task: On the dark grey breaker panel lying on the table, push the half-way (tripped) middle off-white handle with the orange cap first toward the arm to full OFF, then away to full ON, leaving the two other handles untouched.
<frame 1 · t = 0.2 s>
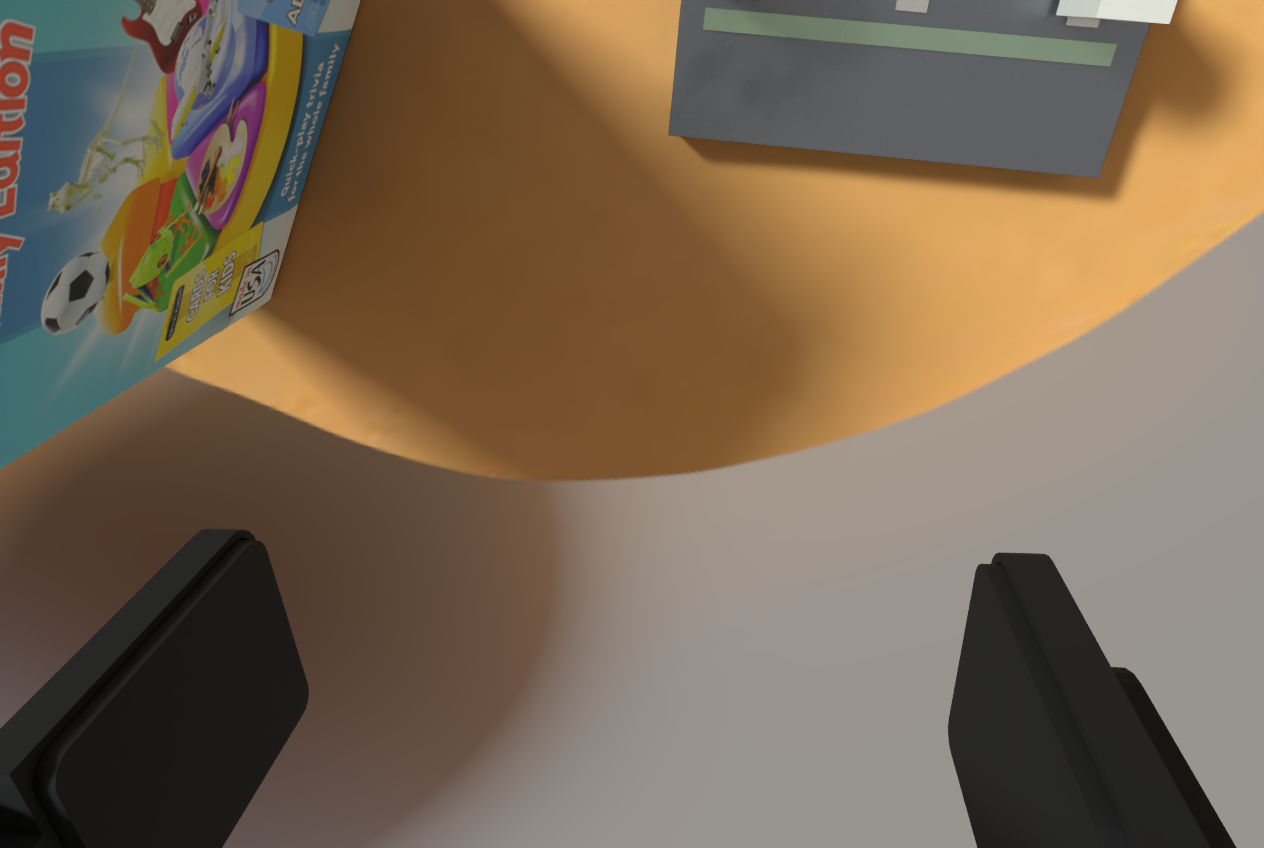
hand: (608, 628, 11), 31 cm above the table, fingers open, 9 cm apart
game box: (270, 87, 39), on the table
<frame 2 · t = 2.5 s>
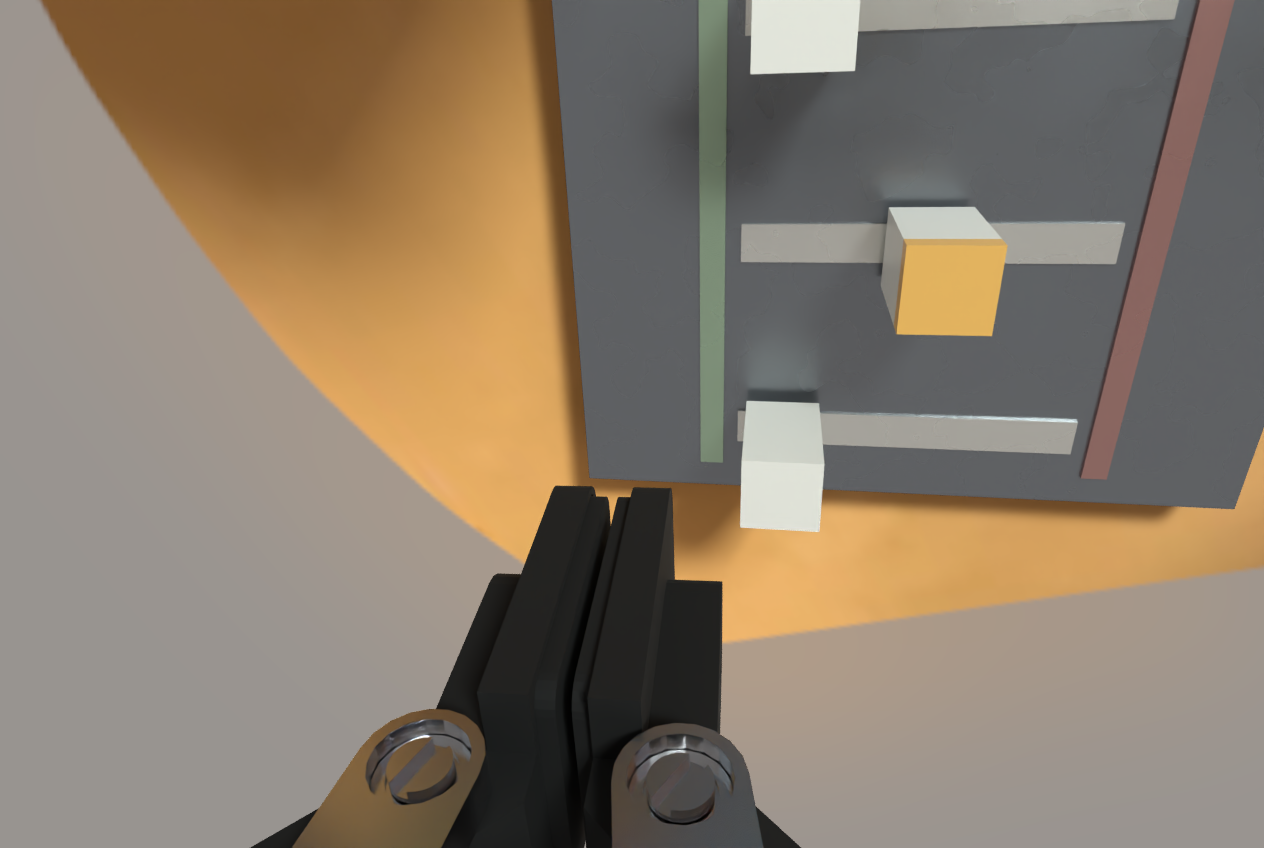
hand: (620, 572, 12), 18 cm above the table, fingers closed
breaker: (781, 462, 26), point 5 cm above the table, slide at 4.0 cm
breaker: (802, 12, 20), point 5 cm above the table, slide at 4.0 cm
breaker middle: (937, 267, 23), point 5 cm above the table, slide at 0.0 cm
panel: (914, 225, 27), on the table
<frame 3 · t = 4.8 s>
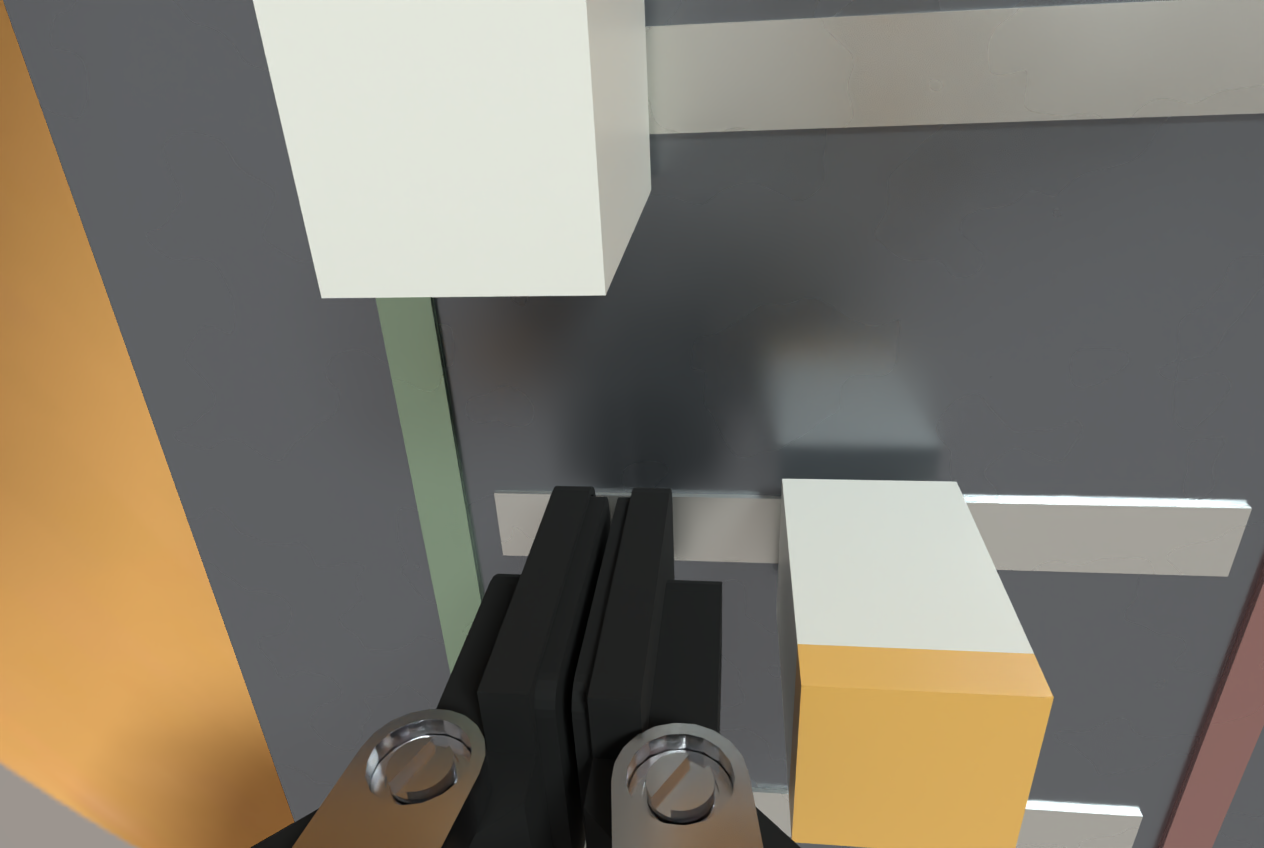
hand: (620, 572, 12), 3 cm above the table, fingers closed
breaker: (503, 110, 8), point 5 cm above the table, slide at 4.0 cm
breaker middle: (882, 643, 10), point 4 cm above the table, slide at -0.1 cm, touching gripper
panel: (834, 464, 14), on the table
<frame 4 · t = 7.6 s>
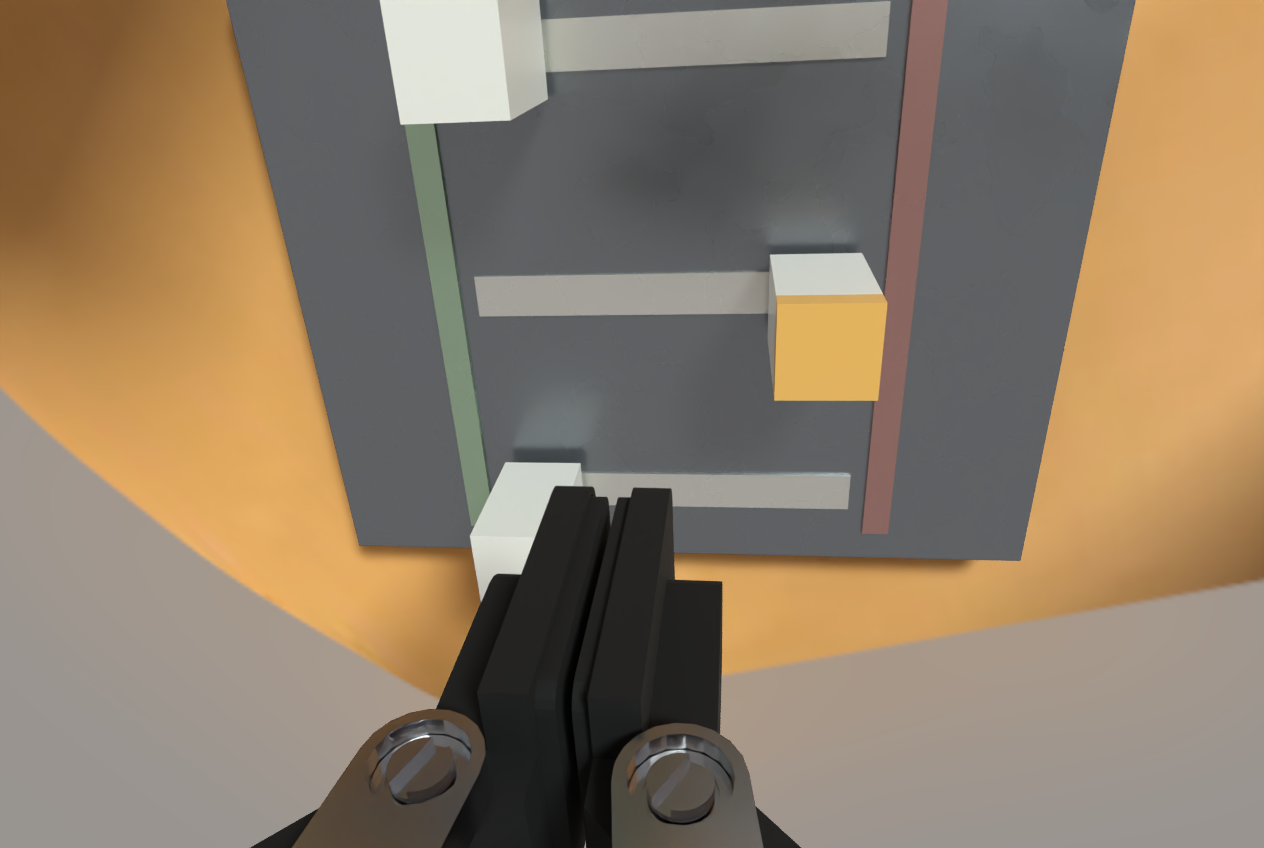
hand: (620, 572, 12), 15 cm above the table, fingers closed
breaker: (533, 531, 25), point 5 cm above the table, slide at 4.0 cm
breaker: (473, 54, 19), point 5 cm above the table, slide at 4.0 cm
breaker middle: (820, 322, 21), point 5 cm above the table, slide at -4.0 cm
panel: (670, 272, 25), on the table
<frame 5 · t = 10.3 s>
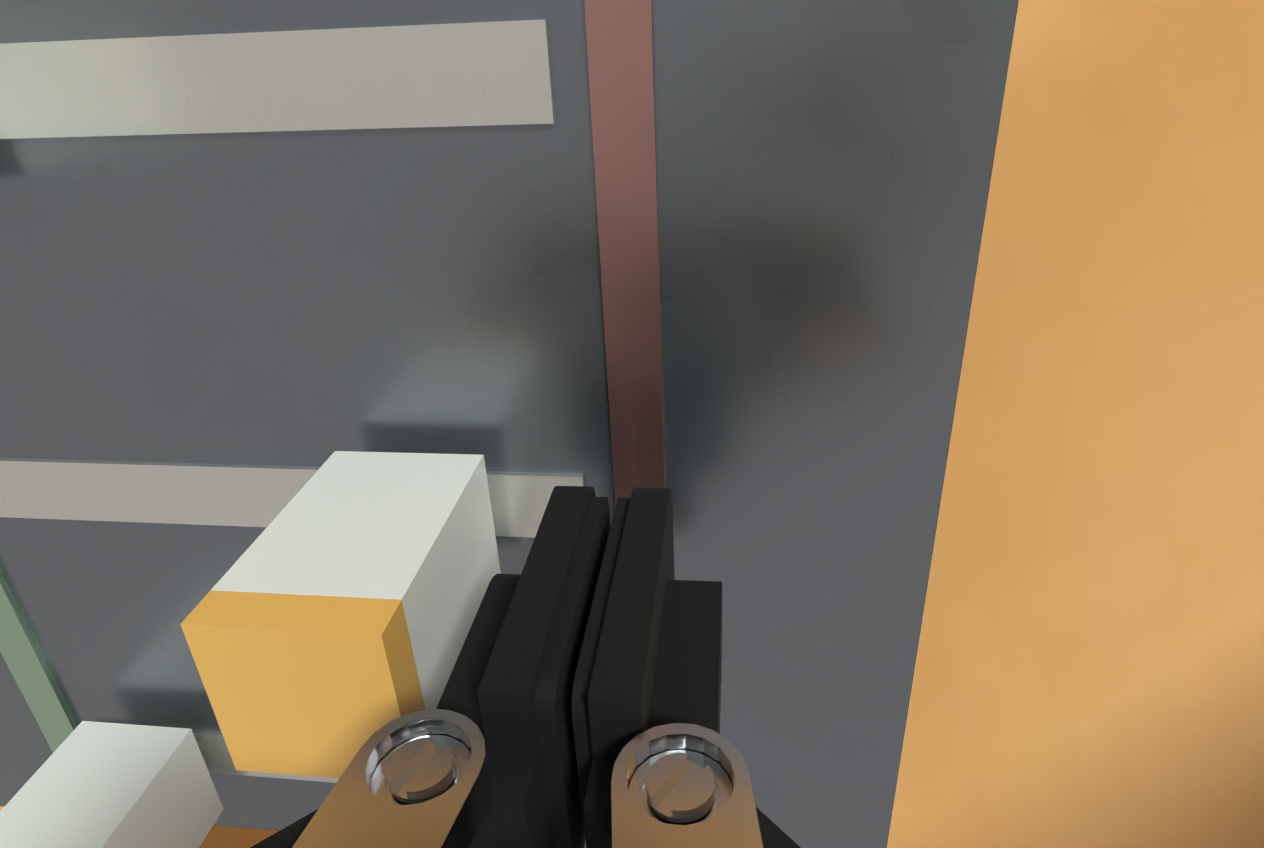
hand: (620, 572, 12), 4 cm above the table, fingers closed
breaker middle: (371, 598, 11), point 4 cm above the table, slide at -2.9 cm, touching gripper
panel: (322, 439, 16), on the table
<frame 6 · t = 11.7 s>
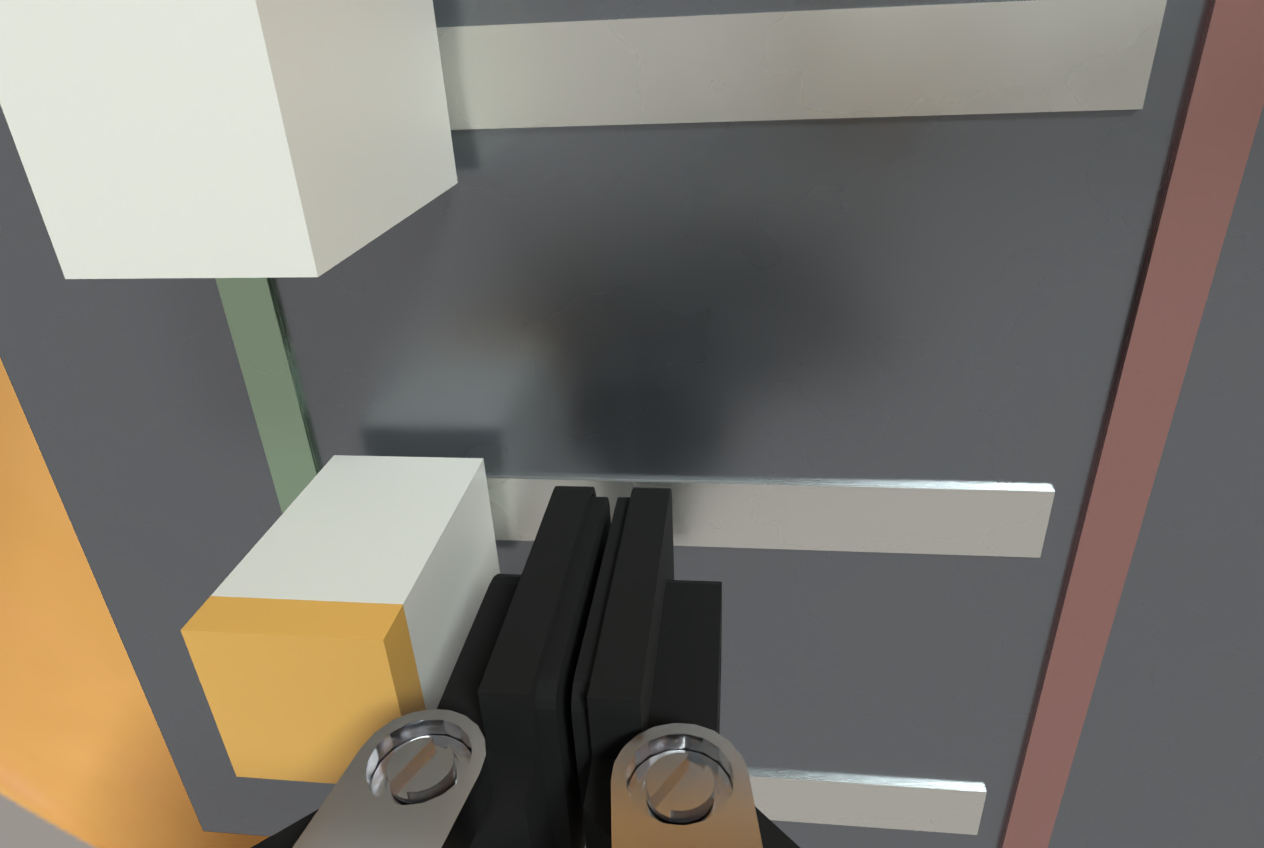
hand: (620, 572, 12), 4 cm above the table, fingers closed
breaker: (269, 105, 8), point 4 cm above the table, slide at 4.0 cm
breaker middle: (371, 602, 11), point 5 cm above the table, slide at 4.2 cm, touching gripper
panel: (689, 450, 15), on the table
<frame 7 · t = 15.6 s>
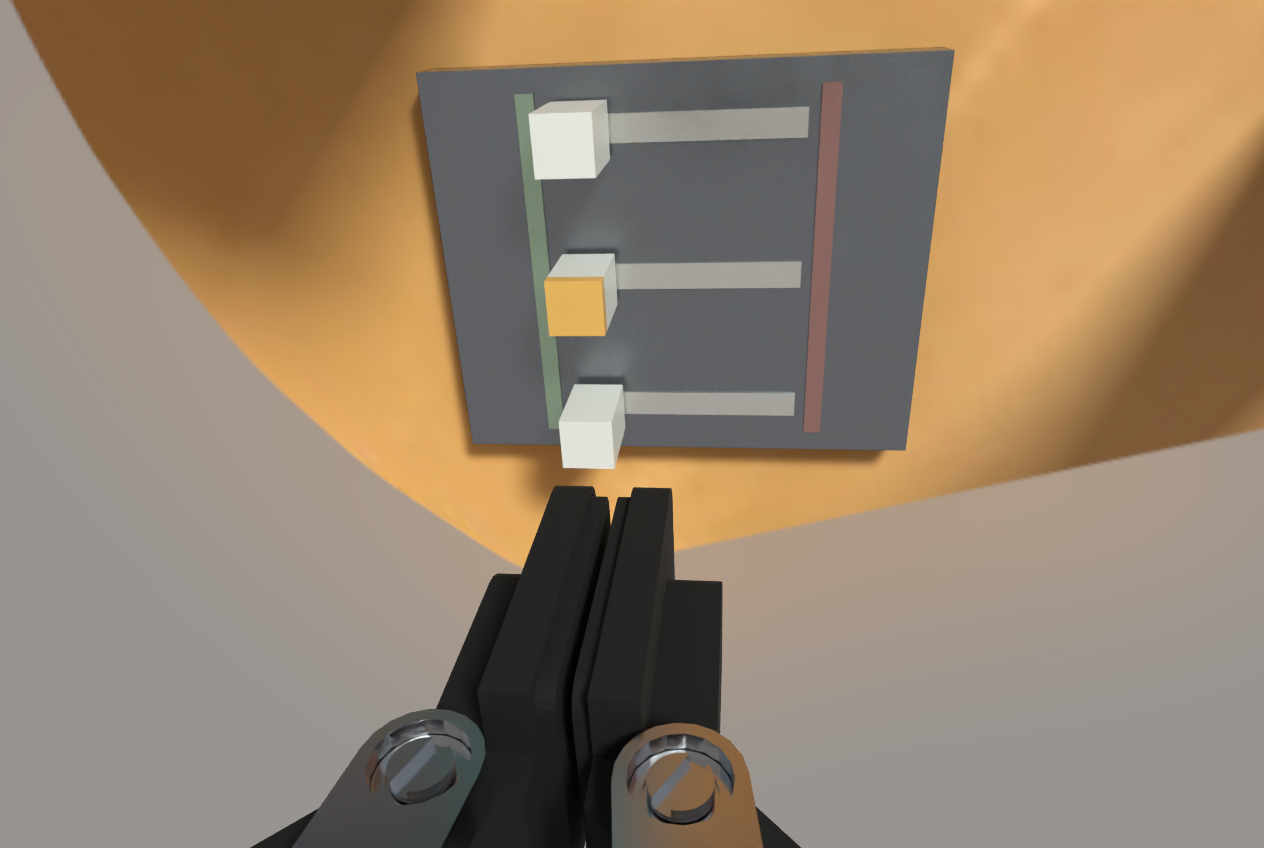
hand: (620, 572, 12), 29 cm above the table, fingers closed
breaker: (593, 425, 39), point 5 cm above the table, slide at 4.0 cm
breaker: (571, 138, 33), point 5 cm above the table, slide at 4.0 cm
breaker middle: (582, 293, 36), point 5 cm above the table, slide at 4.0 cm
panel: (681, 262, 39), on the table
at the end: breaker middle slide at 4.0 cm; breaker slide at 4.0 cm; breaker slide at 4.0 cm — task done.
